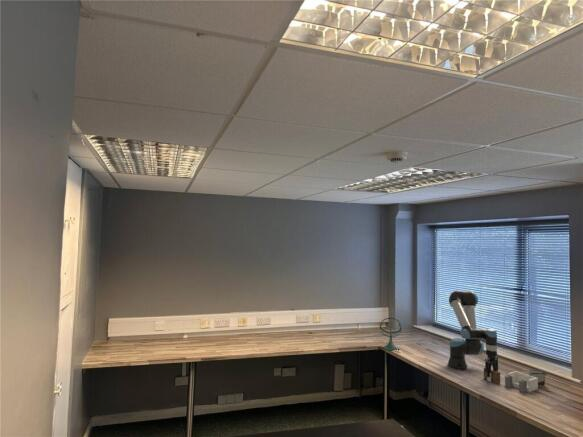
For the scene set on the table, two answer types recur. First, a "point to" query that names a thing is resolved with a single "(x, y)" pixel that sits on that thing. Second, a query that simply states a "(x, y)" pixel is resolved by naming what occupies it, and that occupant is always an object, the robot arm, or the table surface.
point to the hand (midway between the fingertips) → (491, 380)
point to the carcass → (521, 381)
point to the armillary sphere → (390, 345)
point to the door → (493, 376)
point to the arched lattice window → (538, 376)
